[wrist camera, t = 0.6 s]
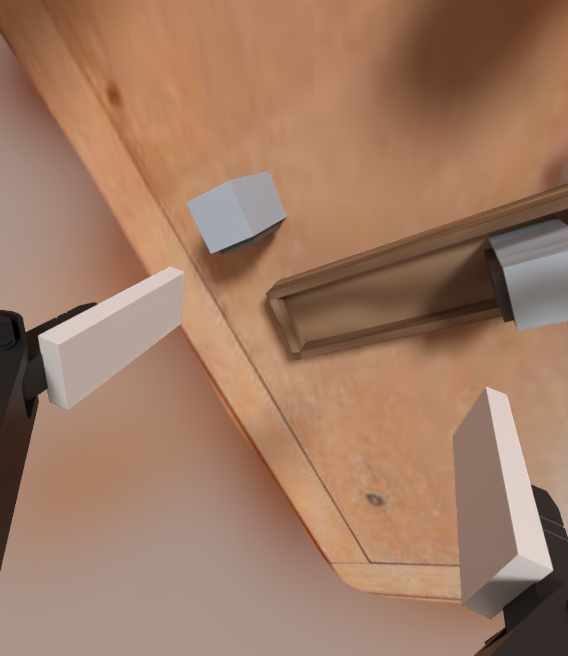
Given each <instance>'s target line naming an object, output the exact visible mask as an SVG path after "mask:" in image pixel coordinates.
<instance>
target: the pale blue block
mask: <svg viewBox="0 0 568 656" xmlns="http://www.w3.org/2000/svg"><path fill="white" fill-rule="evenodd" d="M186 204H187V206H188V208H189V210H190V212H191V214H192V216H193V218H194V220H195V222H196V224H197V226H198V228H199V230H200V233H201V235H202V237H203V239H204V241H205V243H206V245H207V247H208V249H209V251H210V253H211V254H212V253H214V252H217V251H220V253H221V255H222V256H224V255H227V254H229V253H232V252H234V251H237V250H239V249H241V248H244V247H246V246H249V245H251V244H254V243H256V242H258V241H259V240H261V239H262V238H264V237H266V236H267V235H269V234H270V233H272V232H274V231H275V230H277V229H278V228H279V225H278V223H277V222H279V221H280V220H282V219H284V218H286V217H287V215H286V213H285V210H284V208H283V205H282V203H281V200H280V198H279V196H278V193H277V191H276V188H275V186H274V183H273V181H272V178H271V176H270V173H269V171H266V172H262V173H257V174H253V175H249V176H245V177H241V178H237V179H233V180H229V181H227V182H225V183H223V184H221V185H219V186H217V187H216V188H214V189H212V190H210V191H208V192H206V193H204V194H202V195H200V196H198V197H196V198H195V199H193V200H191V201H189V202H187V203H186Z"/></svg>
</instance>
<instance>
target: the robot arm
mask: <svg viewBox="0 0 568 656" xmlns="http://www.w3.org/2000/svg"><path fill="white" fill-rule="evenodd" d="M184 279H185V272H183V271H180V270H178V269H175V268H173V267H169V268H167V269H165V270H163V271H161V272H159V273H157V274H155V275H153V276H151V277H149V278H147V279H146V280H144V281H142V282H140V283H138V284H136V285H134V286H132V287H130V288H128V289H126V290H124V291H123V292H121V293H119V294H117V295H115V296H113V297H111V298H109V299H107V300H105V301H103V302H102V303H100V304H97V303H95V302H94V303H89V304H84V305H80V306H78V307H76V308H74V309H72V310H70V311H68V312H67V313H64V314H62V315H60V316H58V317H57V318H54V319H52V320H50V321H48V322H46V323H44V324H41V325H40V326H37V327H36V328H33V329H31V330H29V331H27V332H25V327H24V322H23V318H22V316H21V315H20V314H18V313H15V312H13V311H5V310H0V570H1V566H2V561H3V557H4V553H5V548H6V544H7V539H8V535H9V531H10V526H11V522H12V517H13V513H14V509H15V504H16V500H17V495H18V491H19V487H20V482H21V478H22V474H23V469H24V464H25V460H26V456H27V452H28V447H29V443H30V438H31V434H32V430H33V424H34V421H35V416H36V412H37V408H38V403H39V401H38V394H40V393H41V392H43V391H44V390H46V389H47V391H48V397H49V402H51V403H53V404H55V405H57V406H59V407H61V408H63V409H65V410H69V409H70V408H72V407H73V406H74V405H75V404H77V403H78V402H79V401H81V400H82V399H83V398H85V397H86V396H87V395H89V394H90V393H91V392H93V391H94V390H95V389H96V388H98V387H99V386H100V385H102V384H103V383H104V382H106V381H107V380H108V379H110V378H111V377H112V376H113V375H115V374H116V373H117V372H118V371H120V370H121V369H123V367H125V366H126V365H128V364H129V363H130V362H132V361H133V360H134V359H136V358H137V357H138V356H139V355H141V354H142V353H143V352H145V351H146V350H147V349H148V348H150V347H151V346H152V345H154V344H155V343H156V342H158V341H159V340H160V339H162V338H163V337H164V336H166V335H167V334H168V333H169V332H171V331H172V330H173V329H175V328H176V327H177V326H179V325H180V324H181V317H182V305H183V292H184ZM453 451H454V469H455V488H456V506H457V524H458V543H459V561H460V579H461V598H462V605H463V606H465V607H467V608H469V609H471V610H473V611H475V612H477V613H479V614H481V615H483V616H485V617H487V618H489V619H492V618H493V617H494V616H496V615H497V614H498V613H499V612H501V611H502V610H503V613H504V620H505V628H503V629H502V630H501V631H499V632H498V633H496V634H495V635H494V636H492V637H491V638H490V639H488V640H487V641H485V644H486V645H485V646H484V647H483V648H482V649H481V650H480V651H478V652H477V653H476V654H475V655H474V656H568V537H567V534H566V530H565V528H563V526H564V524H563V521H562V518H561V515H560V512H559V509H558V507H557V506H556V504H555V503H554V501H553V500H552V498H551V497H550V495H549V494H548V492H547V491H545V490H543V489H541V488H538V487H536V486H533V485H531V484H530V481H529V477H528V473H527V469H526V466H525V462H524V458H523V454H522V450H521V447H520V443H519V439H518V435H517V432H516V428H515V424H514V420H513V417H512V413H511V409H510V405H509V401H508V398H507V395H506V394H503V393H501V392H498V391H495V390H493V389H490V388H488V387H486V388H485V389H484V390H483V392H482V393H481V395H480V396H479V398H478V399H477V401H476V402H475V404H474V405H473V406H472V408H471V409H470V411H469V412H468V414H467V415H466V417H465V418H464V420H463V421H462V422H461V424H460V425H459V427H458V428H457V430H456V431H455V433H454V434H453Z"/></svg>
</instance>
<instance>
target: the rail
mask: <svg viewBox="0 0 568 656" xmlns="http://www.w3.org/2000/svg"><path fill="white" fill-rule="evenodd" d="M266 295H267V297H268V299H269V302H270V304H271V306H272V308H273V310H274V313H275V315H276V317H277V319H278V321H279V324H280V326H281V328H282V330H283V332H284V334H285V337H286V339H287V341H288V343H289V345H290V348H291V350H292V352H293V354H294V356H295V359H301V358H306V357H311V356H315V355H320V354H325V353H330V352H334V351H339V350H344V349H349V348H353V347H358V346H363V345H368V344H372V343H377V342H382V341H387V340H391V339H396V338H401V337H406V336H410V335H415V334H420V333H425V332H429V331H434V330H439V329H444V328H448V327H453V326H458V325H463V324H467V323H472V322H477V321H482V320H486V319H491V318H496V317H501V316H502V317H503V320H504V322H507V321H512V320H514V322H515V325H516V327H517V330H523V329H528V328H534V327H539V326H544V325H549V324H555V323H560V322H565V321H568V184H566V185H563V186H560V187H557V188H554V189H551V190H548V191H545V192H542V193H539V194H536V195H533V196H530V197H527V198H524V199H521V200H518V201H515V202H512V203H509V204H506V205H503V206H500V207H497V208H494V209H491V210H488V211H485V212H482V213H479V214H476V215H473V216H470V217H467V218H464V219H461V220H458V221H455V222H452V223H449V224H446V225H443V226H440V227H437V228H434V229H431V230H428V231H425V232H422V233H419V234H416V235H413V236H410V237H407V238H404V239H401V240H398V241H395V242H392V243H389V244H386V245H383V246H380V247H377V248H374V249H371V250H369V251H366V252H363V253H360V254H357V255H354V256H351V257H348V258H345V259H342V260H339V261H336V262H333V263H330V264H327V265H324V266H321V267H318V268H315V269H312V270H309V271H306V272H303V273H300V274H297V275H294V276H291V277H288V278H285V279H282V280H279V281H277V282H276V283H275V284H274V285H273V287H272V288H271V289H270V290H269V291H268V292H267V293H266Z"/></svg>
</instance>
